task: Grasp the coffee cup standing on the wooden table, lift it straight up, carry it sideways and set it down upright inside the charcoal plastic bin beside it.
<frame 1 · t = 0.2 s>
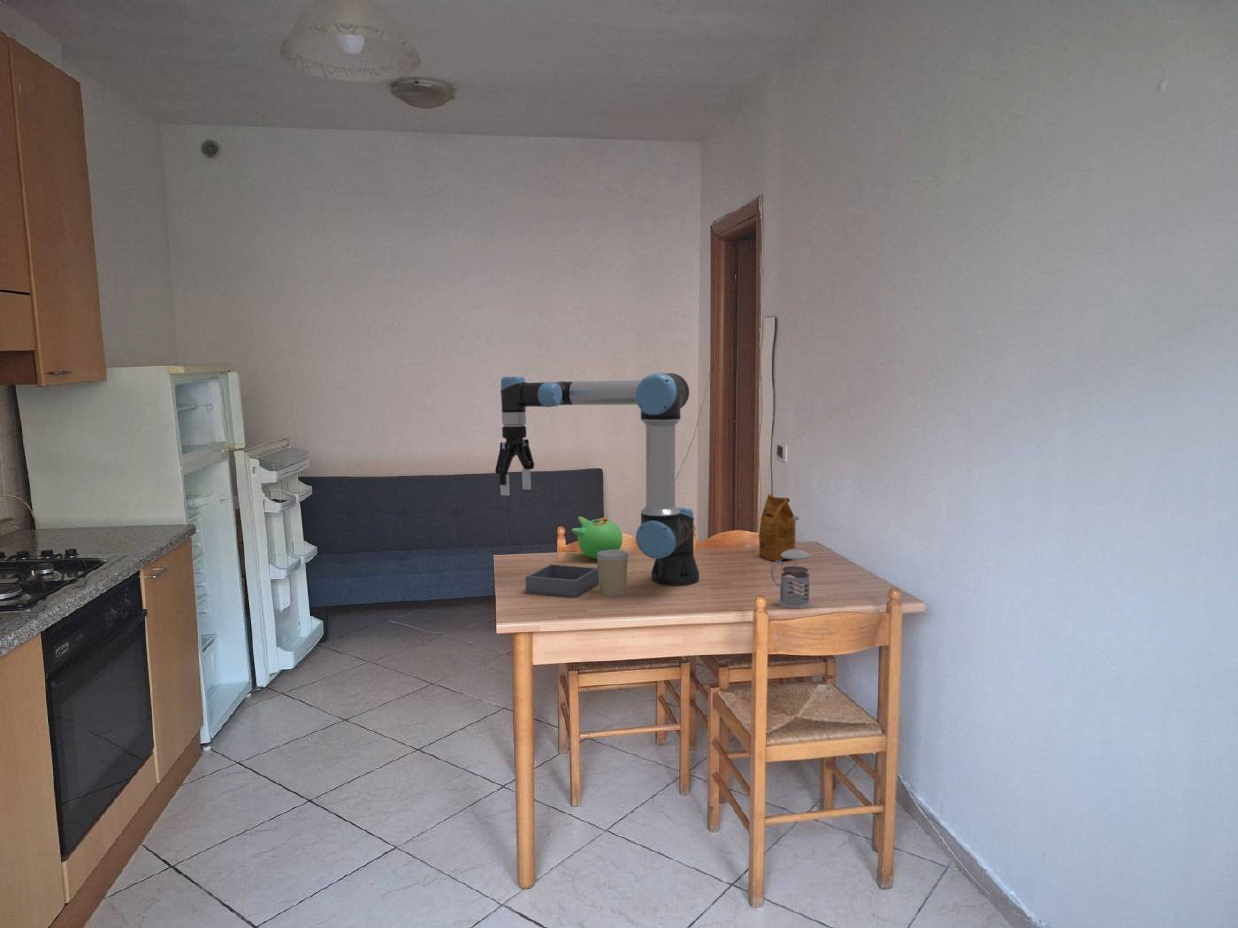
hand: (516, 492, 257), 28 cm above the table, tool pointing down, fingers open, 13 cm apart
green round figure: (598, 558, 286), on the table
bin: (563, 588, 246), on the table
coffee cup: (612, 592, 241), on the table
french press: (791, 603, 227), on the table
coffee package: (776, 558, 282), on the table
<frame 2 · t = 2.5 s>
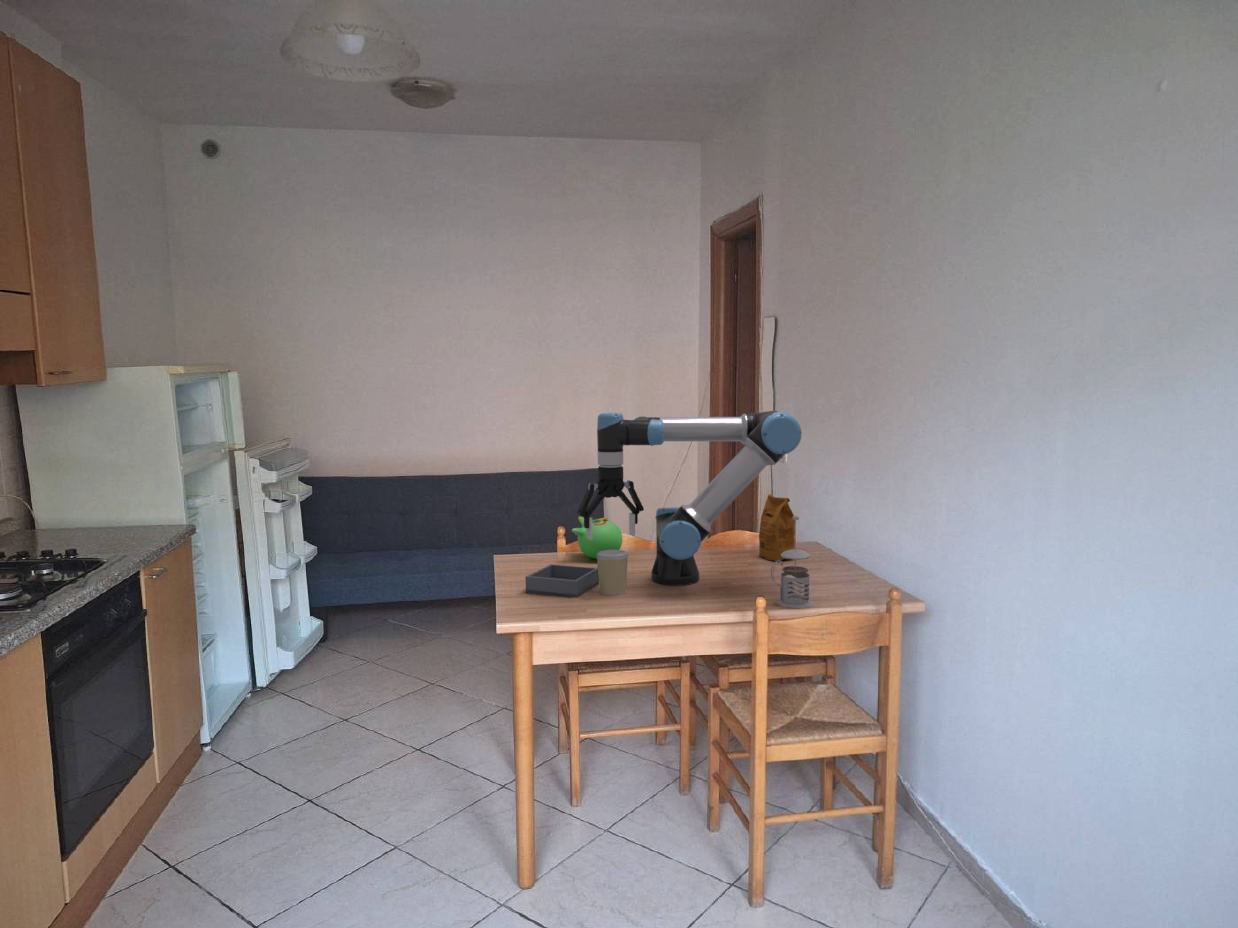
hand: (611, 537, 239), 17 cm above the table, tool pointing down, fingers open, 13 cm apart
nothing on the table moved.
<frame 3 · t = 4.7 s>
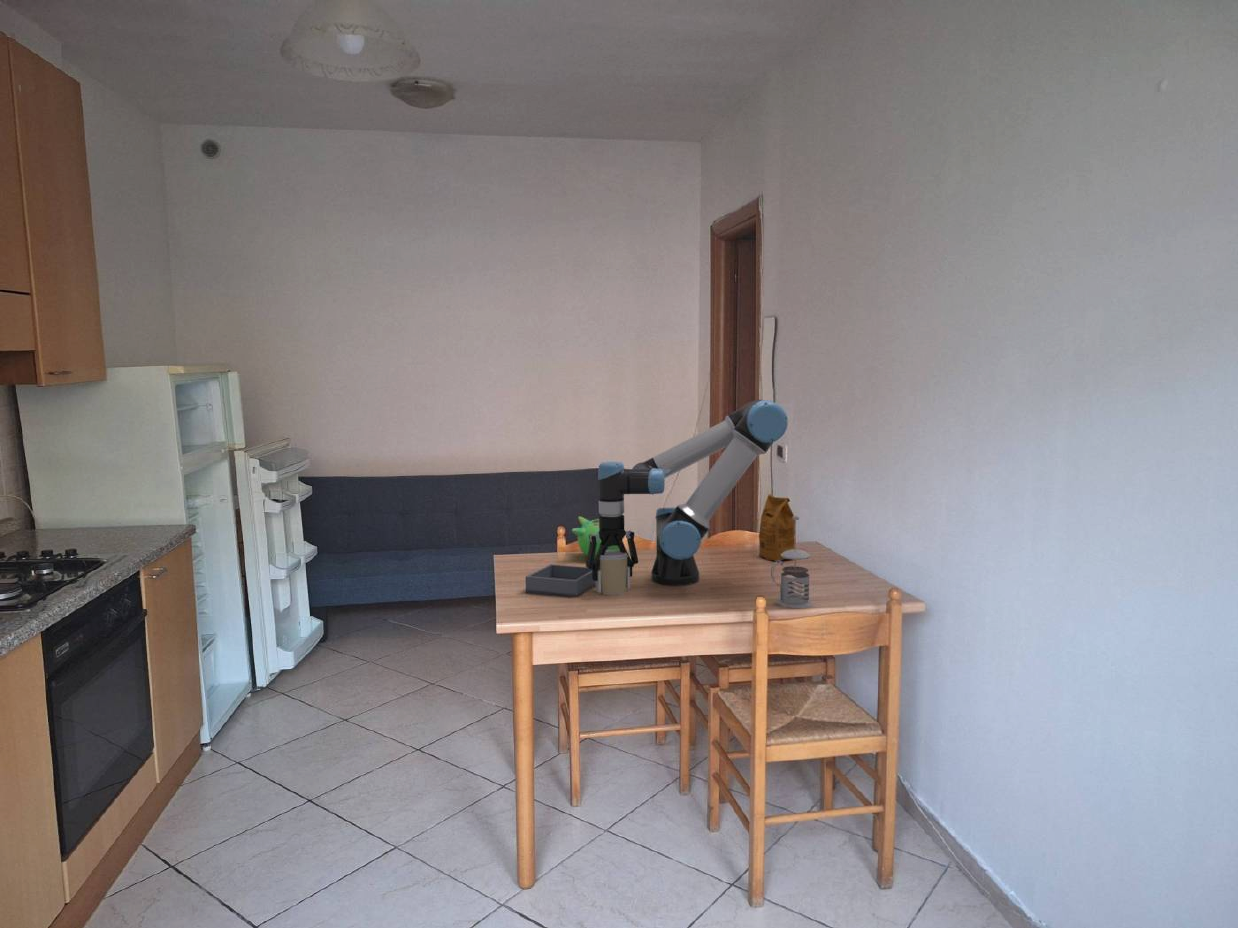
hand: (612, 589, 241), 1 cm above the table, tool pointing down, fingers closed on coffee cup, 9 cm apart
coffee cup: (612, 592, 241), on the table, touching gripper
everything else where it was.
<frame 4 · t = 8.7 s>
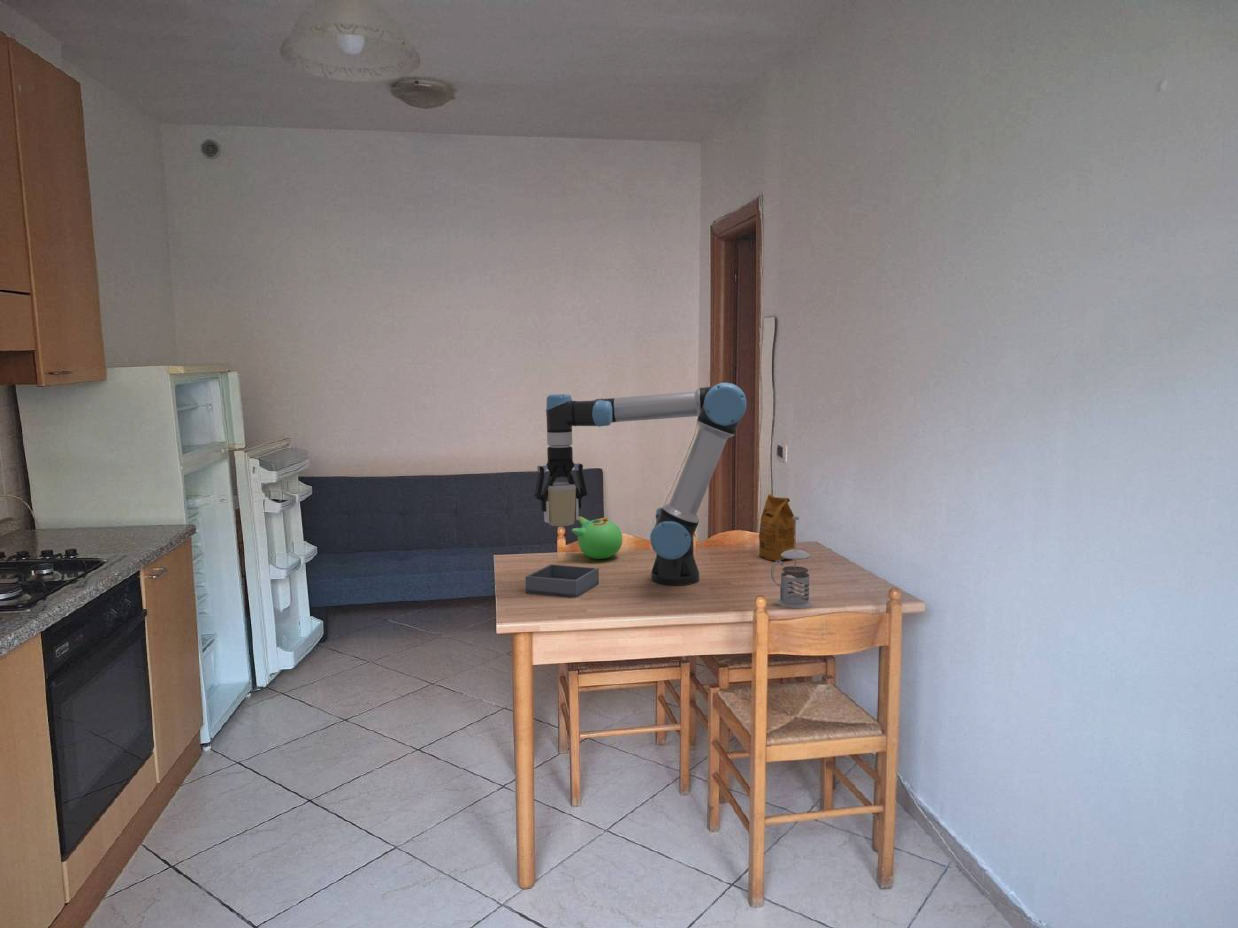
hand: (561, 520, 244), 21 cm above the table, tool pointing down, fingers closed on coffee cup, 9 cm apart
coffee cup: (561, 524, 244), point 20 cm above the table, touching gripper
everything else where it was.
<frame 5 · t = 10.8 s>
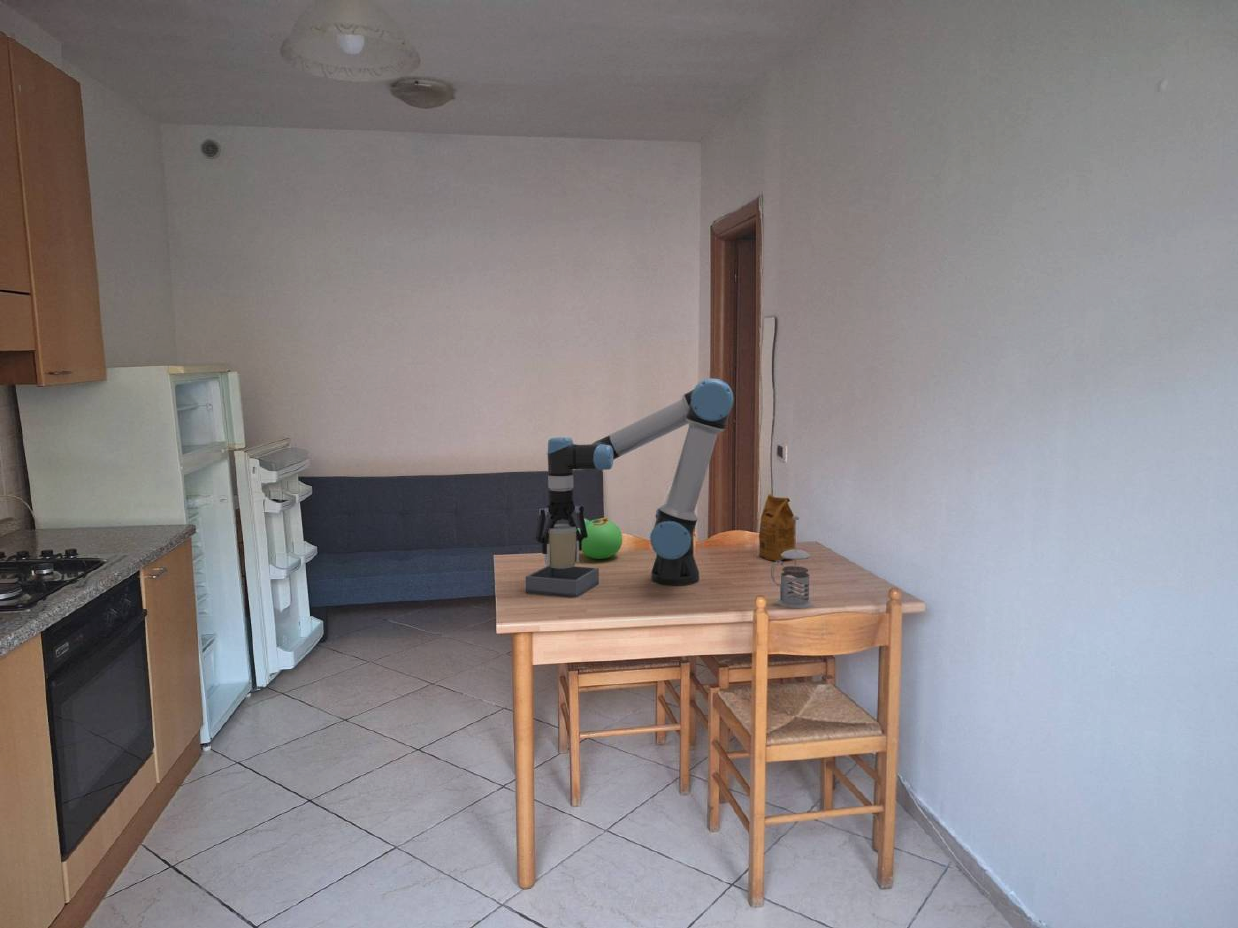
hand: (562, 562, 245), 8 cm above the table, tool pointing down, fingers closed on coffee cup, 9 cm apart
coffee cup: (562, 566, 245), point 7 cm above the table, touching gripper
everything else where it was.
when the fingers open (4 cm above the table, at t = 12.6 s): coffee cup drops 2 cm, resting on bin.
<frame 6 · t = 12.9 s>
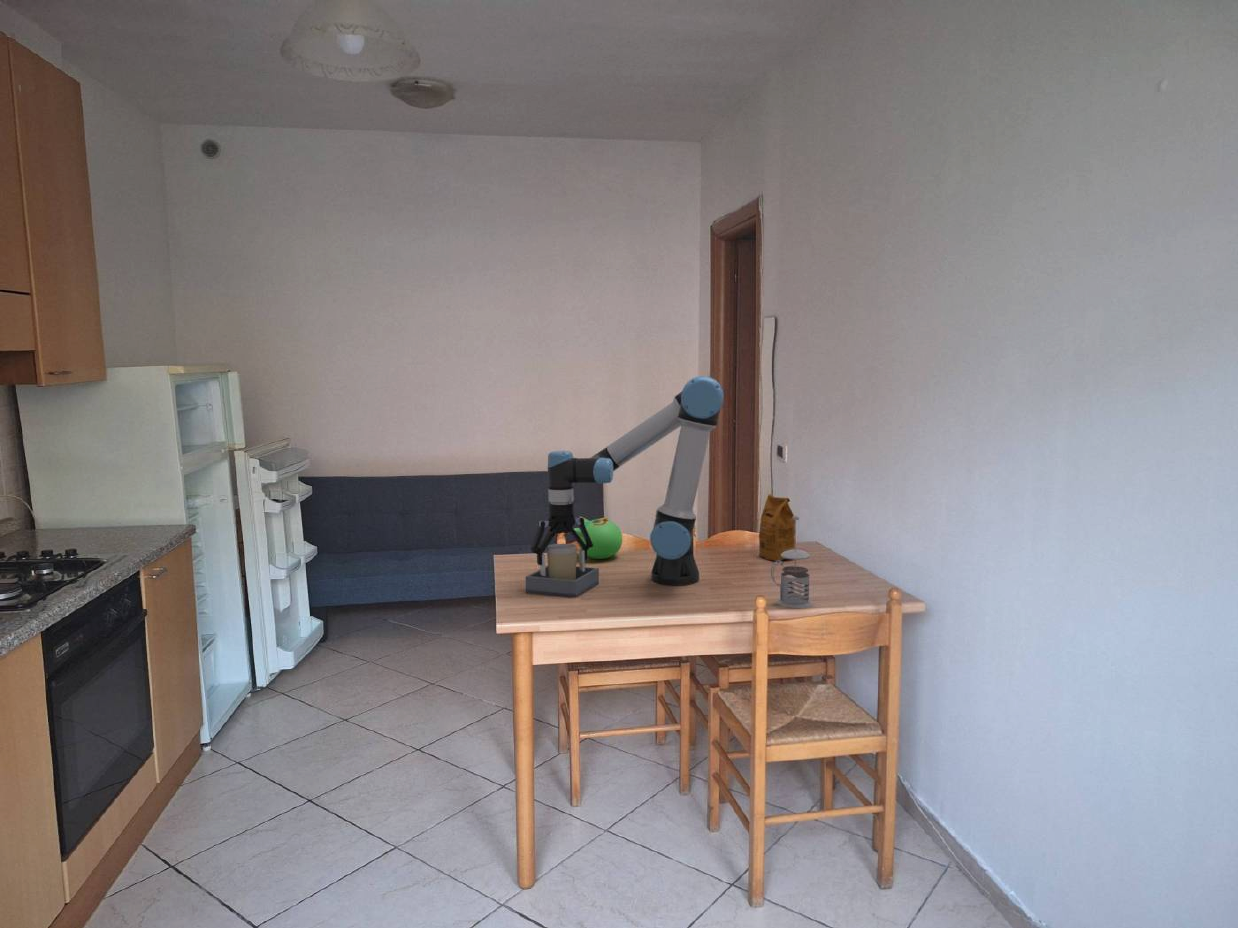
hand: (562, 572, 245), 5 cm above the table, tool pointing down, fingers open, 12 cm apart
coffee cup: (562, 585, 246), point 1 cm above the table, touching bin
everything else where it was.
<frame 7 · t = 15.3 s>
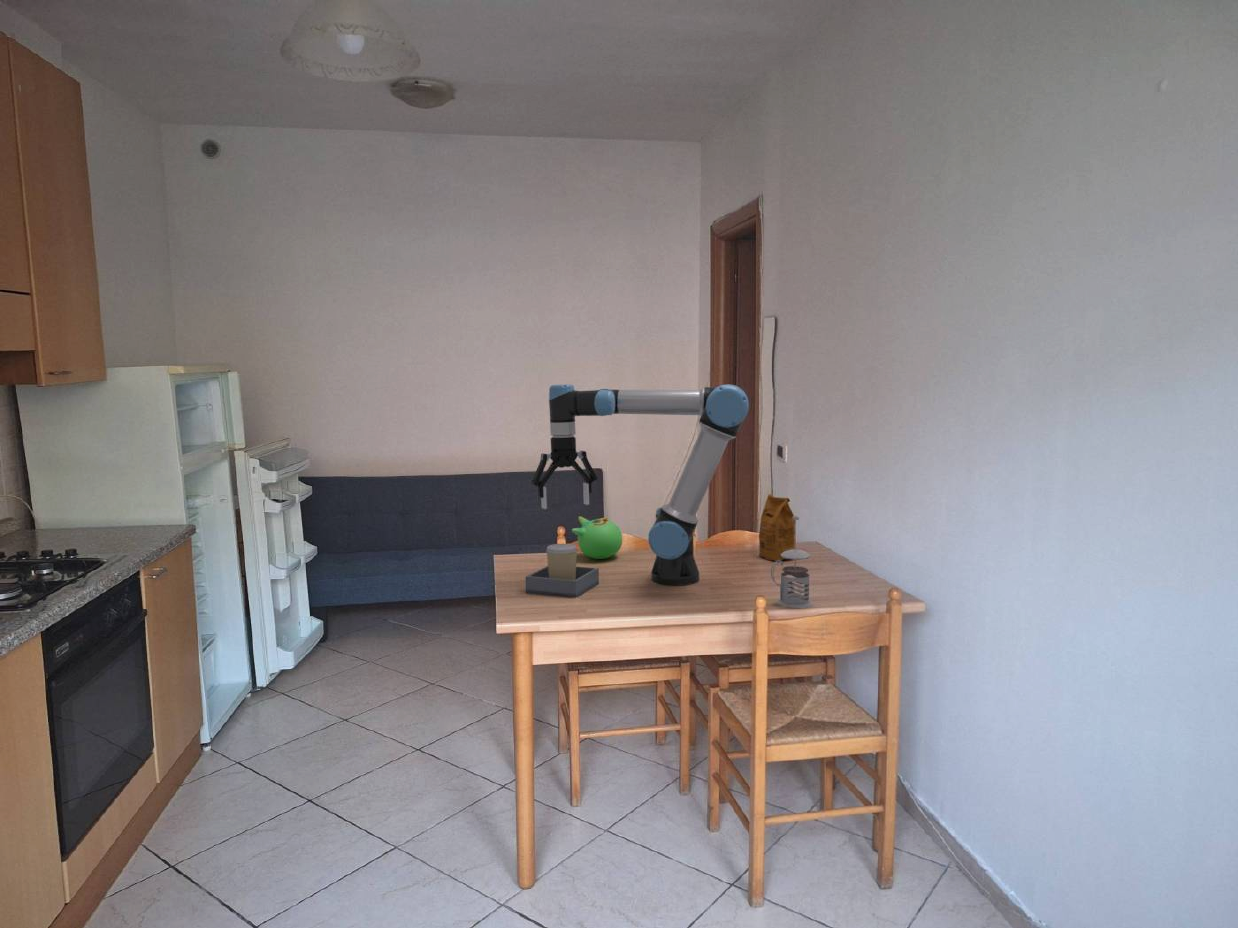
hand: (565, 506, 244), 25 cm above the table, tool pointing down, fingers open, 13 cm apart
nothing on the table moved.
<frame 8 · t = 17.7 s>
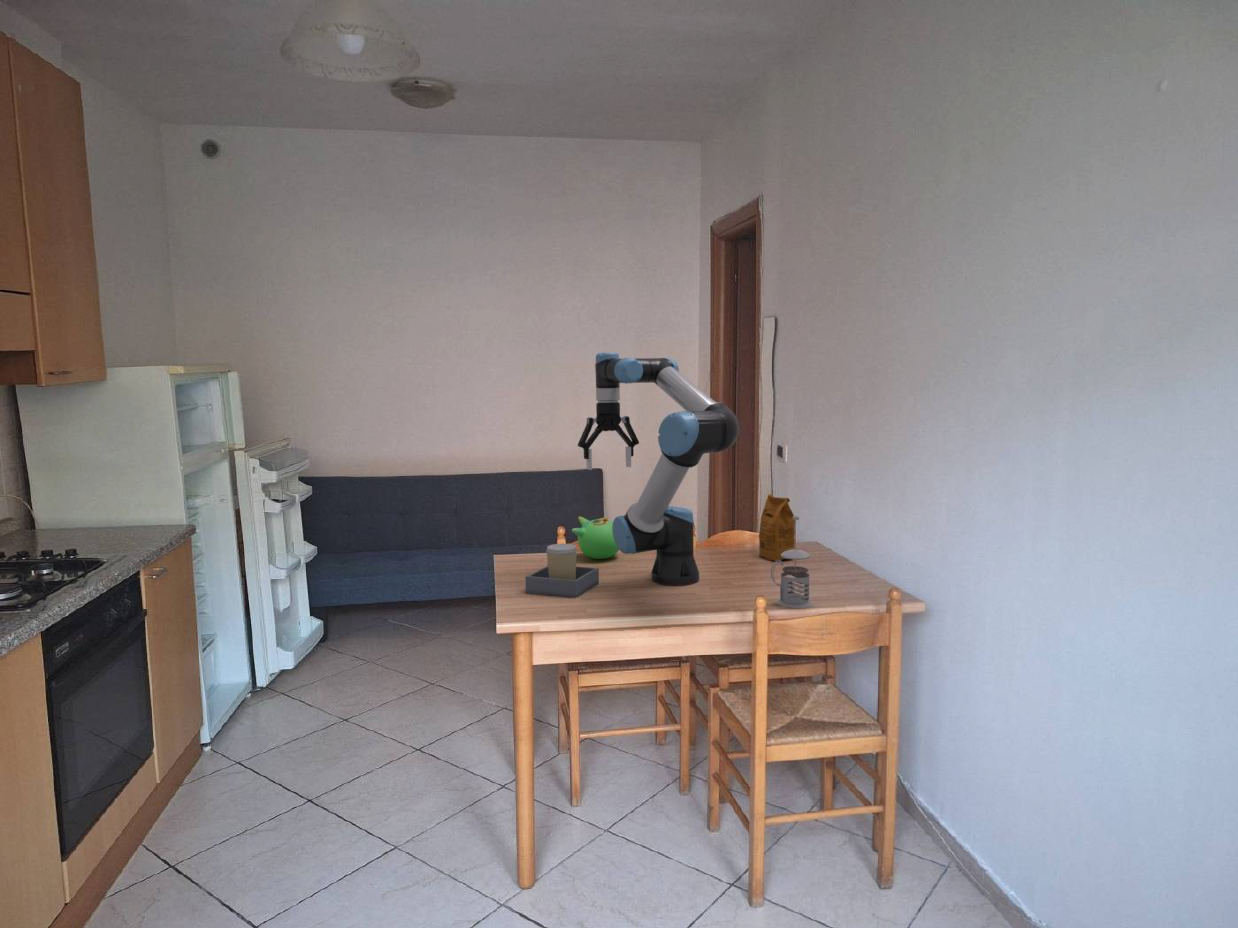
hand: (609, 468, 259), 35 cm above the table, tool pointing down, fingers open, 13 cm apart
nothing on the table moved.
at the end: coffee cup inside the target area on the bin (0.2 cm from its centre), point 0.8 cm above the bin's base; coffee cup tilted 0°; the gripper is holding nothing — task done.
